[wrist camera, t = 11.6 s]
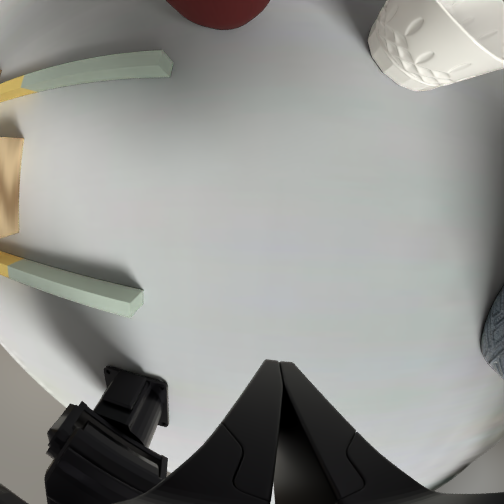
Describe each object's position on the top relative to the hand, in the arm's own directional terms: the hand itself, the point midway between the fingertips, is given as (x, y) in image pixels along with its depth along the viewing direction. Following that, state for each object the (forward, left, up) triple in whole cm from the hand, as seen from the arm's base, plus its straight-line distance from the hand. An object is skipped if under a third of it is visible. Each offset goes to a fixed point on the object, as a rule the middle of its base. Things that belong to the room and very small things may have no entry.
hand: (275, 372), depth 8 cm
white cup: (+18, -8, -12) cm, 23 cm away
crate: (+3, +27, -12) cm, 30 cm away
